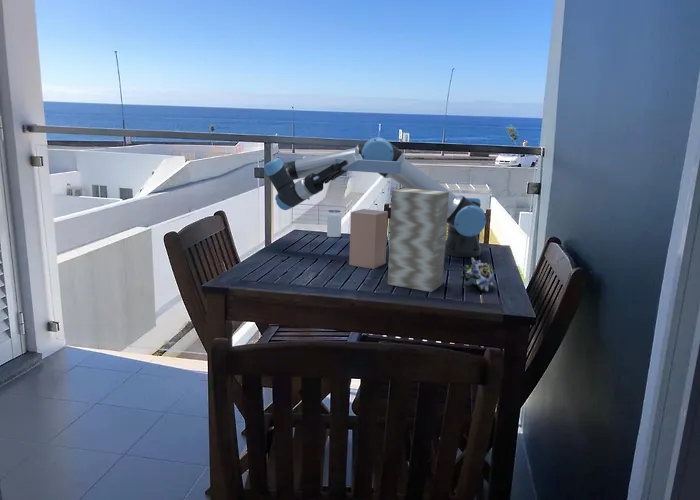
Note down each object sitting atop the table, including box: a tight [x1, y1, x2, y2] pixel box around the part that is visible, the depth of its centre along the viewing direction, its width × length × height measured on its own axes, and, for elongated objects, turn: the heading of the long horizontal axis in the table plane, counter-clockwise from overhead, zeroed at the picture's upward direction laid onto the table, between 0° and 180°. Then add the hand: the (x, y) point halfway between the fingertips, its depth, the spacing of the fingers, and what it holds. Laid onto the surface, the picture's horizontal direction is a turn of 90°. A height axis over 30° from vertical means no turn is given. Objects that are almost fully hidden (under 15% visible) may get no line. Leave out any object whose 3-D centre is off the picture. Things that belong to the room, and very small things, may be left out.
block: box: [348, 208, 389, 270], centre depth 191 cm, size 10×10×20 cm
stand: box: [387, 187, 449, 293], centre depth 166 cm, size 15×10×30 cm, turn 62°
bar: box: [335, 158, 401, 174], centre depth 186 cm, size 24×4×4 cm, turn 62°
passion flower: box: [459, 257, 495, 292], centre depth 167 cm, size 11×11×12 cm
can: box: [326, 209, 342, 238], centre depth 242 cm, size 6×6×12 cm
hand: (358, 157), depth 188 cm, fingers closed on bar, 4 cm apart
